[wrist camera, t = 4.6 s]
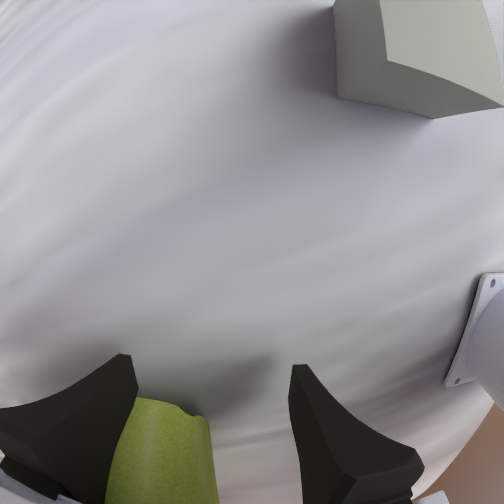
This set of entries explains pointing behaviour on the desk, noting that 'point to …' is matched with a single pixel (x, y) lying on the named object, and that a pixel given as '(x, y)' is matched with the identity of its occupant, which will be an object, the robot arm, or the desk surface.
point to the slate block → (417, 56)
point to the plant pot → (162, 458)
